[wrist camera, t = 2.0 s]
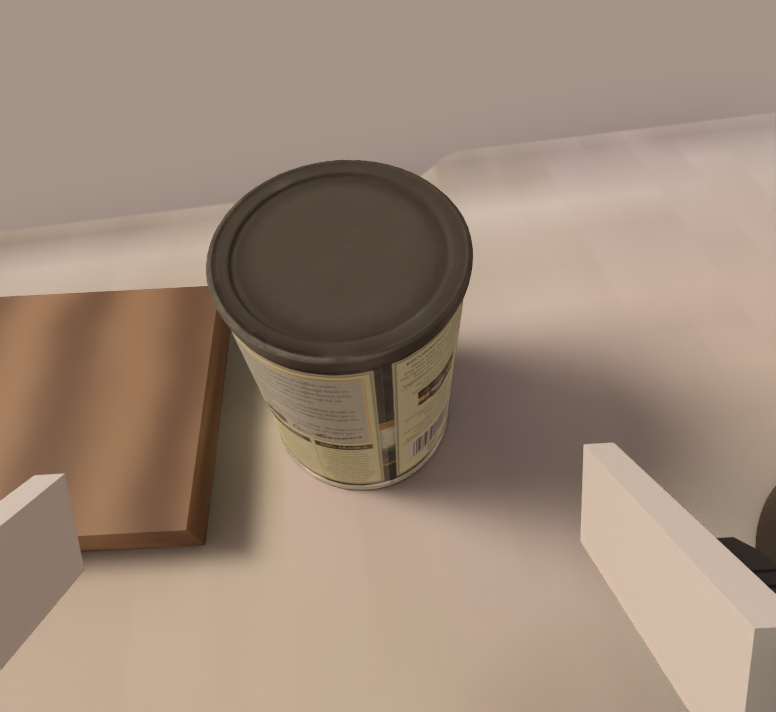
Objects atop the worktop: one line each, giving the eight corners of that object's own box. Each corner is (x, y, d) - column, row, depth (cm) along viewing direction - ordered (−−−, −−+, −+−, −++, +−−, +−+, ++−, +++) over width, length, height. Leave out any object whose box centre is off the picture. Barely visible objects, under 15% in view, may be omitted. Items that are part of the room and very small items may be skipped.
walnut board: (231, 313, 38) (219, 285, 35) (204, 544, 30) (186, 530, 27) (6, 325, 37) (-23, 298, 35) (-81, 560, 30) (-126, 547, 27)
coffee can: (303, 325, 37) (255, 144, 25) (459, 350, 36) (488, 173, 24) (252, 473, 32) (160, 335, 20) (432, 509, 30) (451, 385, 18)
